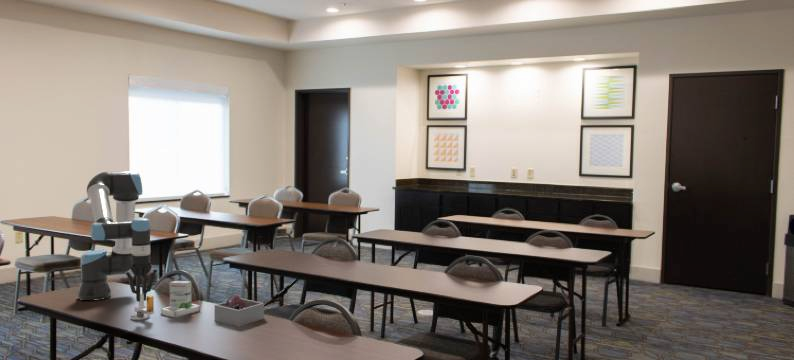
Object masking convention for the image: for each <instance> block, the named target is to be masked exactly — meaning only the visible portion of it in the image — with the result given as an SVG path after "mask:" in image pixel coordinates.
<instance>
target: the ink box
mask: <svg viewBox="0 0 794 360" xmlns="http://www.w3.org/2000/svg"><path fill="white" fill-rule="evenodd" d="M192 304H193V303H192V281H188V280H186V281H184V280H174V281H170V282H169V306H170V308H185V309H187V308H189V307H191V306H192Z"/></svg>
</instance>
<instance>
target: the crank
mask: <svg viewBox="0 0 794 360" xmlns="http://www.w3.org/2000/svg"><path fill="white" fill-rule="evenodd" d="M154 299H155V298H154V295H146V306H145V305H144V309H139V306H135V307H134V308H133V309H134V312H136V313H137V312H142V313H145V314H148V315H150V316H151V315H154V314H155V310H154V306H155V305H154Z"/></svg>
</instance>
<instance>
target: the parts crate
mask: <svg viewBox="0 0 794 360" xmlns="http://www.w3.org/2000/svg"><path fill="white" fill-rule="evenodd" d="M239 298H240V299H241V300H242V301H244V303H245V304H246V308H244V309H240V310H237V309H232V308H228V307H226V305H225V304H224V302H221V303H217V304H214V321H215V322H219V323H221V324H222V323H223V324H227V325H230V326H234V327H238V328H239V327H242V326H244V325H248V324H252V323H254V322H257V321H260V320H261V321H262V320H264V319H265V303H264V302H261V301H256V300H251V299H247V298H241V297H239ZM238 301H239V300H238ZM229 302H231V300H229ZM233 303H234V301H233ZM238 305H239V308H240V307H241V306H242V305H241V304H238Z"/></svg>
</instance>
